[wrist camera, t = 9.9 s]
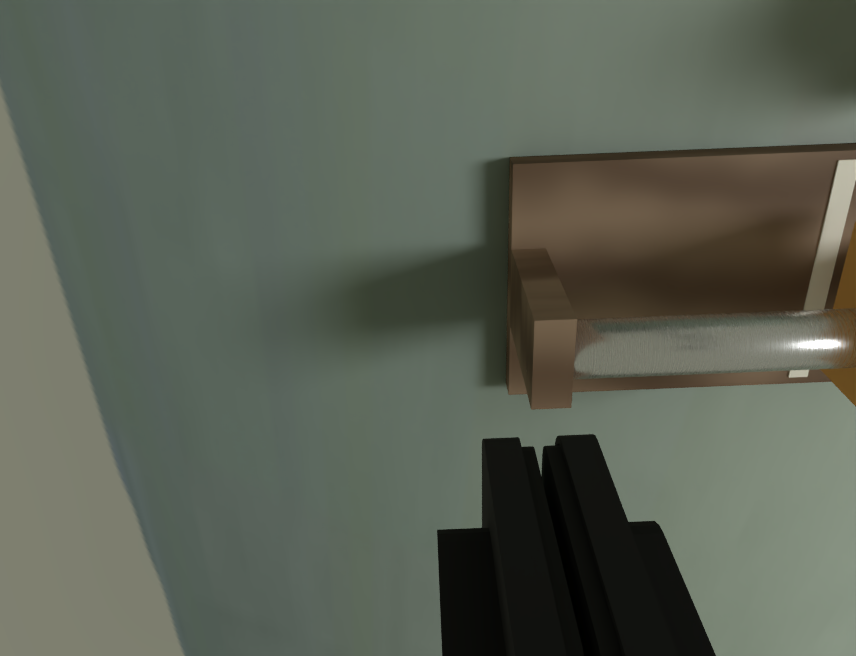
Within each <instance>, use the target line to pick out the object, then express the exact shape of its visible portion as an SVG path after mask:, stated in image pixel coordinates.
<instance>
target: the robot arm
mask: <svg viewBox="0 0 856 656" xmlns="http://www.w3.org/2000/svg"><path fill="white" fill-rule="evenodd" d="M437 536H438V561H439V585H440V609H441V633H442V656H716V655H715V653H714V650H713V648H712V646H711V643H710V641H709V639H708V636H707V634H706V632H705V629H704V627H703V625H702V622H701V620H700V617H699V615H698V613H697V610H696V608H695V606H694V603H693V601H692V599H691V596H690V594H689V592H688V589H687V587H686V585H685V582H684V580H683V578H682V575H681V573H680V571H679V568H678V566H677V564H676V561H675V559H674V557H673V554H672V552H671V550H670V547H669V545H668V543H667V540H666V538H665V536H664V533H663V531H662V530H661V528H660V526H659V525H658V524H657V523H656V522H655V521H643V522H628V520H627V518H626V515H625V512H624V510H623V507H622V504H621V502H620V499H619V496H618V494H617V491H616V488H615V486H614V483H613V480H612V478H611V475H610V472H609V470H608V467H607V464H606V461H605V459H604V456H603V453H602V451H601V448H600V445H599V443H598V440H597V438H596V436H595V435H594V434H589V435H565V436H557V438H556V442H555V446H544V448H543V455H542V477H541V474H540V470H539V465H538V461H537V457H536V453H535V449H534V447H533V446H532V447H521V443H520V439H519V438H518V437H516V438H491V439H483V440H482V528H471V529H446V530H437Z"/></svg>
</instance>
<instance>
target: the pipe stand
mask: <svg viewBox="0 0 856 656" xmlns="http://www.w3.org/2000/svg"><path fill="white" fill-rule="evenodd" d="M855 222H856V143H845V144H820V145H796V146H772V147H747V148H723V149H698V150H674V151H650V152H625V153H601V154H577V155H552V156H528V157H510V174H509V234H508V294H507V354H506V384H507V389H508V394H509V395H513V394H528V398H529V402H530V406H531V409H553V408H571V403H572V392H587V391H611V390H636V389H660V388H685V387H709V386H734V385H758V384H783V383H807V382H832V381H831V380H830V379H829V378H828V377H827V376H826V375H825V374H824V373H823V372H822V371H821V370H820V369H839V368H856V308H847V309H833V307H834V303H835V299H836V295H837V291H838V287H839V283H840V279H841V275H842V271H843V267H844V263H845V259H846V255H847V252H848V248H849V244H850V240H851V236H852V232H853V228H854V224H855Z"/></svg>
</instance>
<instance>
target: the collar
mask: <svg viewBox="0 0 856 656" xmlns="http://www.w3.org/2000/svg"><path fill="white" fill-rule="evenodd" d="M847 308H856V222H855V224H854V228H853V232H852V236H851V240H850V244H849V248H848V252H847V255H846V259H845V263H844V267H843V271H842V275H841V279H840V283H839V287H838V291H837V295H836V299H835V303H834V307H833V309H847ZM820 370H821V371H822V372H823V373H824V374H825V375H826V376H827V377H828V378H829V379H830V380H831V381H832V382H833V383H834V384H835V385H836V386H837V387H838V388H839V390H840V391H841V392H842V393H843V394H844V395H845V396H846V397H847V398H848V399H849V400H850V401H851V402H852V403H853V404H854V405H855V406H856V368H839V369H820Z"/></svg>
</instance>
